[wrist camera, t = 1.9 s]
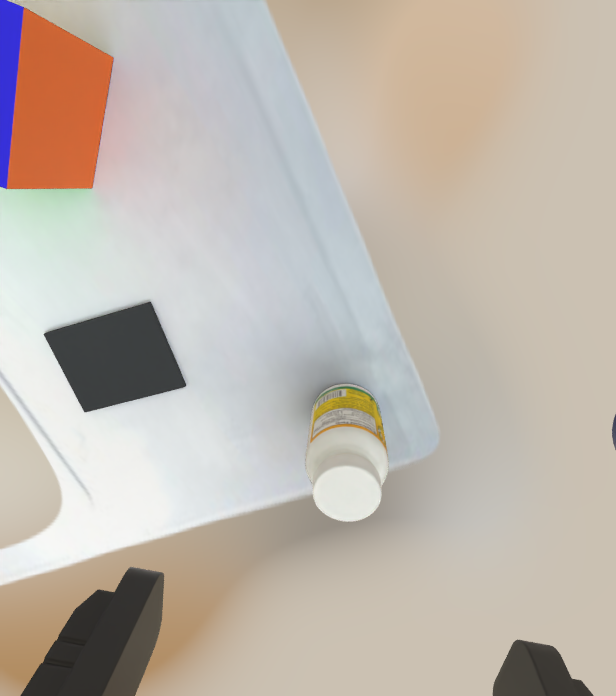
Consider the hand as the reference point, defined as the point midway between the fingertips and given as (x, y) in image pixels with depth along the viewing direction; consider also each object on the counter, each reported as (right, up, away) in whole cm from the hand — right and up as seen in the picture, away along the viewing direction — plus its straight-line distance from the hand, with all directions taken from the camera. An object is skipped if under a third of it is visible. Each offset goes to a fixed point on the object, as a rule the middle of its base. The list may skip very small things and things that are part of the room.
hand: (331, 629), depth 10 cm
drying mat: (-15, +6, +24) cm, 29 cm away
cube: (-18, +22, +18) cm, 34 cm away
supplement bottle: (+2, +1, +24) cm, 24 cm away
